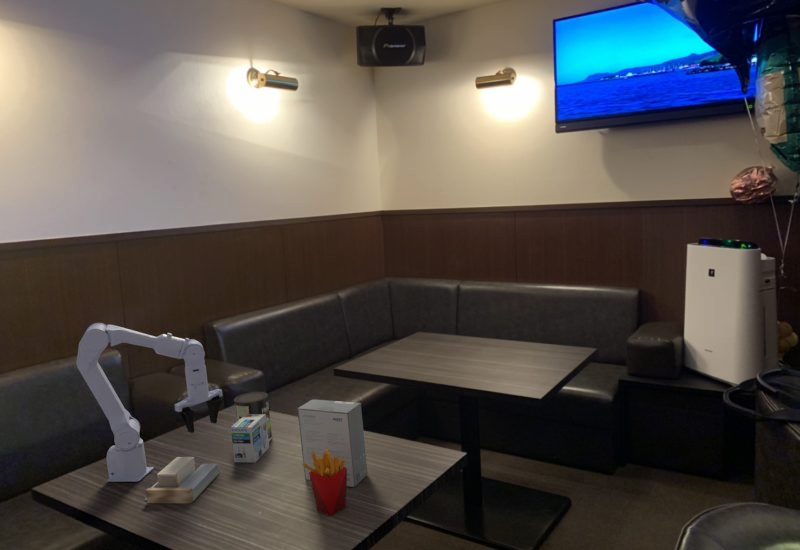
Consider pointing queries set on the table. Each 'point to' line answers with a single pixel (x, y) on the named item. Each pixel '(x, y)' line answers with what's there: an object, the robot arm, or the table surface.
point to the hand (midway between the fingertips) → (202, 427)
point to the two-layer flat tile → (201, 478)
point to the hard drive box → (334, 435)
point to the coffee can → (253, 406)
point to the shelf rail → (169, 495)
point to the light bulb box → (250, 438)
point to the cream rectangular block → (176, 472)
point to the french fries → (328, 483)
